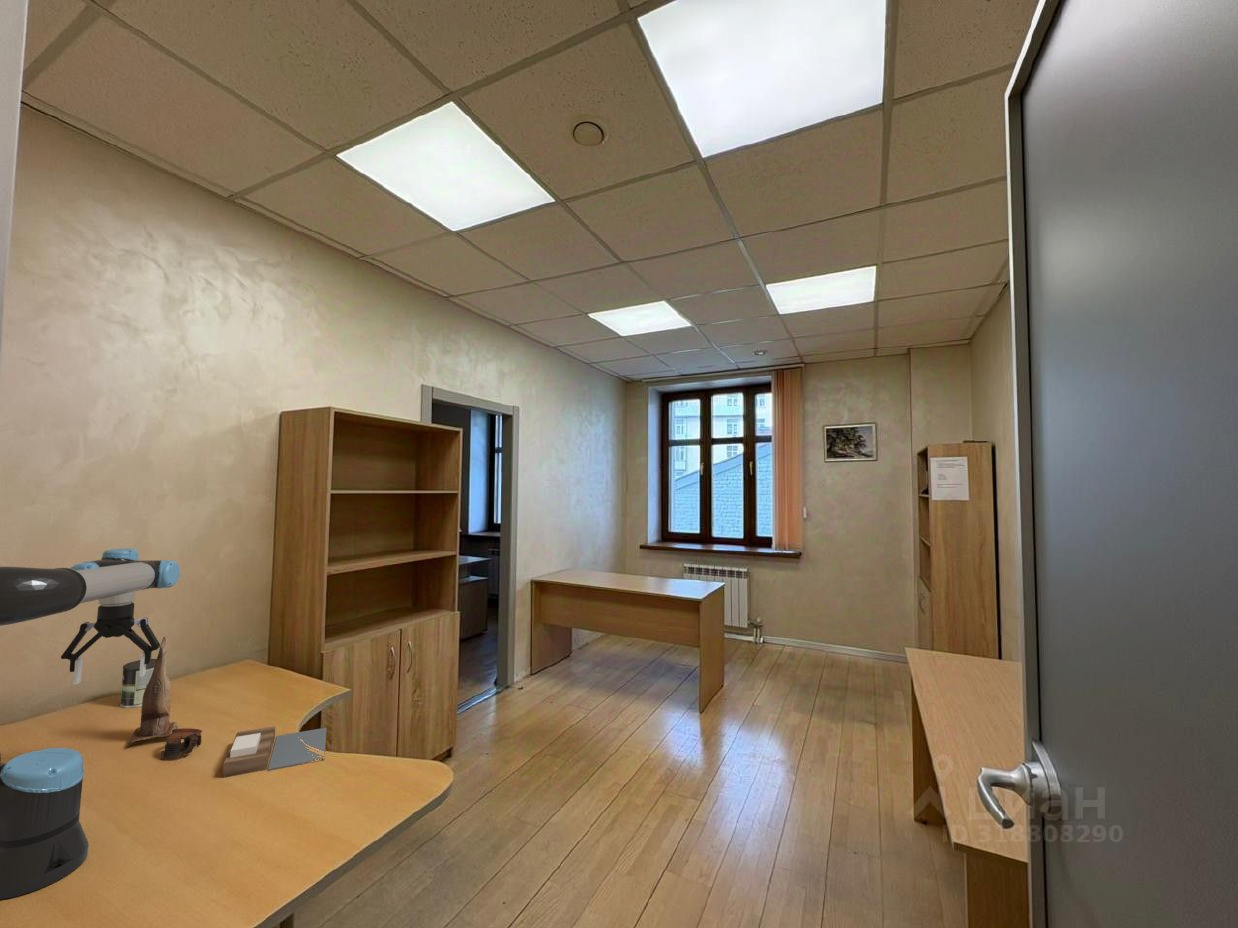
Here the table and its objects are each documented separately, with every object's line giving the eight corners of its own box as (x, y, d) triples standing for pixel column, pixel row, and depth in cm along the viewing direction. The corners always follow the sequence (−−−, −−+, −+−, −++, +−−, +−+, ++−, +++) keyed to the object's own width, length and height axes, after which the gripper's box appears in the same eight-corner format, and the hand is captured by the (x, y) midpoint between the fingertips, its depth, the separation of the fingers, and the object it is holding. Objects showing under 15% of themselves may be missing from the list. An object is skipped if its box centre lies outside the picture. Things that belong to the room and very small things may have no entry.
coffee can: (114, 709, 182) (117, 669, 183) (127, 698, 191) (130, 660, 192) (151, 705, 186) (154, 666, 187) (162, 694, 196) (165, 657, 196)
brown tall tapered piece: (125, 751, 155) (134, 645, 156) (132, 735, 165) (140, 634, 166) (174, 742, 162) (182, 640, 163) (178, 726, 171) (185, 630, 172)
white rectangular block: (255, 753, 148) (256, 746, 148) (230, 757, 145) (230, 750, 146) (260, 739, 156) (260, 732, 156) (236, 743, 153) (236, 736, 154)
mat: (324, 759, 153) (324, 758, 153) (267, 770, 147) (267, 769, 147) (326, 728, 173) (326, 727, 173) (276, 736, 166) (277, 735, 166)
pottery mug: (149, 760, 151) (162, 729, 156) (183, 761, 159) (194, 731, 163) (175, 757, 147) (187, 725, 152) (209, 759, 155) (219, 728, 159)
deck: (266, 769, 147) (267, 755, 147) (222, 777, 143) (223, 762, 143) (274, 738, 165) (275, 725, 165) (236, 745, 160) (237, 731, 160)
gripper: (176, 597, 157) (170, 668, 155) (61, 604, 144) (54, 681, 143) (170, 602, 150) (164, 676, 149) (48, 610, 137) (41, 691, 136)
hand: (110, 679), depth 146 cm, fingers open, 13 cm apart
